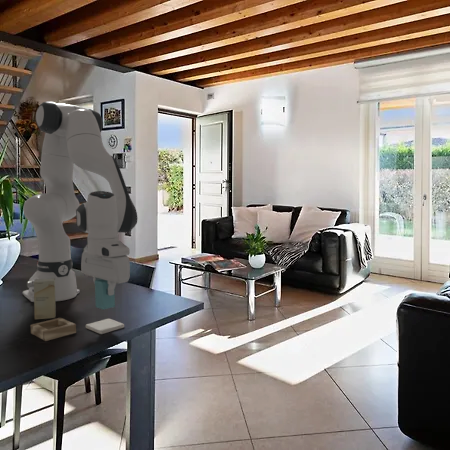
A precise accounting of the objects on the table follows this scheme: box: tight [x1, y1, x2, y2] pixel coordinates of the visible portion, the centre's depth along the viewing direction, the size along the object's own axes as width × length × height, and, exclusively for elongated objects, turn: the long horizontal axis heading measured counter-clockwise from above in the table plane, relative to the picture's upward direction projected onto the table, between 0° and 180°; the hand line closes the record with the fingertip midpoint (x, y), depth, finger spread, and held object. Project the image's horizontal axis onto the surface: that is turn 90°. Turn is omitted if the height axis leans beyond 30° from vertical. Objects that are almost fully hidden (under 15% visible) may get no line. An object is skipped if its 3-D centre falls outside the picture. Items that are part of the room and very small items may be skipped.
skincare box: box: [33, 278, 57, 320], centre depth 139 cm, size 6×4×12 cm
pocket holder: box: [30, 317, 77, 342], centre depth 124 cm, size 9×9×2 cm
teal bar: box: [94, 279, 116, 310], centre depth 128 cm, size 4×4×8 cm
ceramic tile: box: [85, 318, 125, 335], centre depth 129 cm, size 8×8×1 cm
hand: (104, 293), depth 128 cm, fingers closed on teal bar, 4 cm apart
